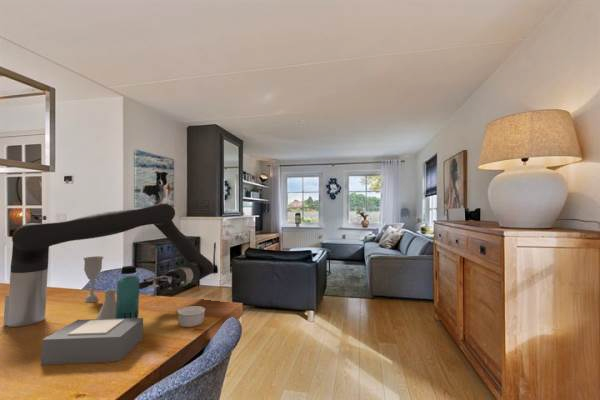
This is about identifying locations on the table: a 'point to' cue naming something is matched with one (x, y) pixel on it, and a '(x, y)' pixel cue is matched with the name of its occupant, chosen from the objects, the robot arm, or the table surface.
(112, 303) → the flask
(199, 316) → the ramekin
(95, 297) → the chalice
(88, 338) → the stand
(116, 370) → the table surface
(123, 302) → the beverage bottle
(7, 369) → the table surface
